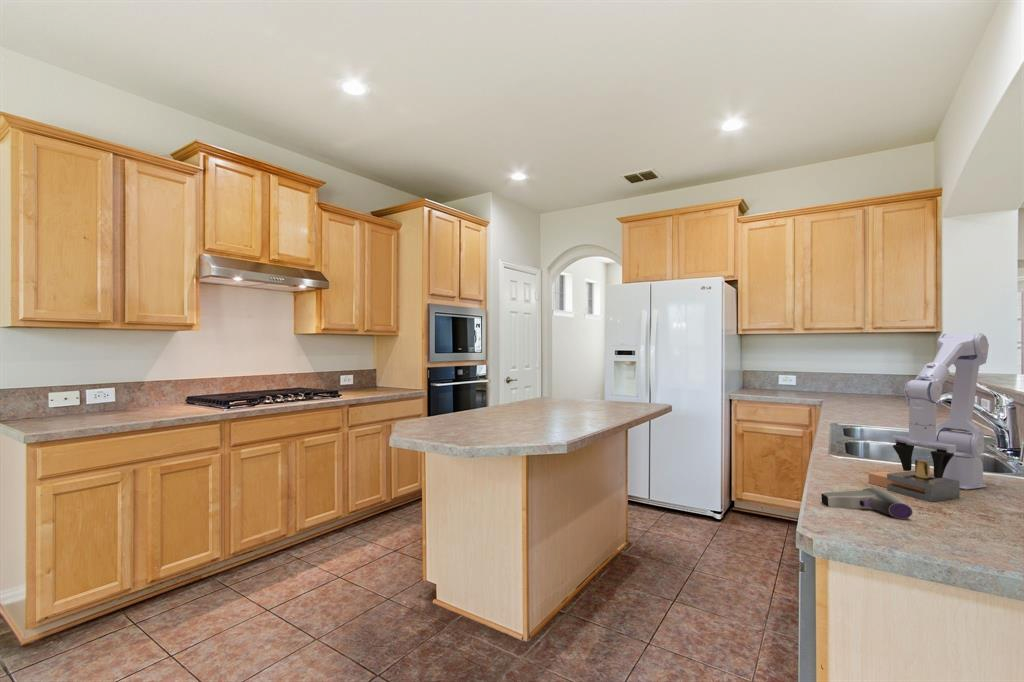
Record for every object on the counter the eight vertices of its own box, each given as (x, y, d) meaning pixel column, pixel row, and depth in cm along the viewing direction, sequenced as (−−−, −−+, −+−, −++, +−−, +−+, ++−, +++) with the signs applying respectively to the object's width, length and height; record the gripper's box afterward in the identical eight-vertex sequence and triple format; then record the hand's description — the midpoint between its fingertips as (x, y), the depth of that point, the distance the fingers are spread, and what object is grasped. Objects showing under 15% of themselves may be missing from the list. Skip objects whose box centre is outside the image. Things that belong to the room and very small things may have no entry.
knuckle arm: (885, 481, 145) (885, 471, 145) (946, 496, 131) (946, 485, 131) (868, 483, 143) (868, 473, 143) (928, 499, 128) (928, 488, 128)
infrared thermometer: (819, 506, 126) (881, 504, 124) (847, 523, 114) (916, 521, 112) (818, 488, 126) (880, 486, 125) (845, 503, 114) (914, 501, 112)
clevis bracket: (913, 486, 140) (914, 470, 140) (959, 498, 129) (959, 481, 129) (886, 489, 136) (886, 473, 136) (931, 502, 126) (931, 484, 126)
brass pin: (920, 491, 135) (920, 459, 135) (932, 495, 132) (932, 461, 132) (912, 492, 134) (912, 459, 134) (924, 496, 131) (924, 462, 131)
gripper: (884, 420, 139) (884, 468, 139) (943, 429, 125) (943, 482, 125) (901, 419, 141) (901, 466, 141) (961, 428, 127) (961, 480, 127)
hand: (922, 474), depth 133 cm, fingers open, 7 cm apart
